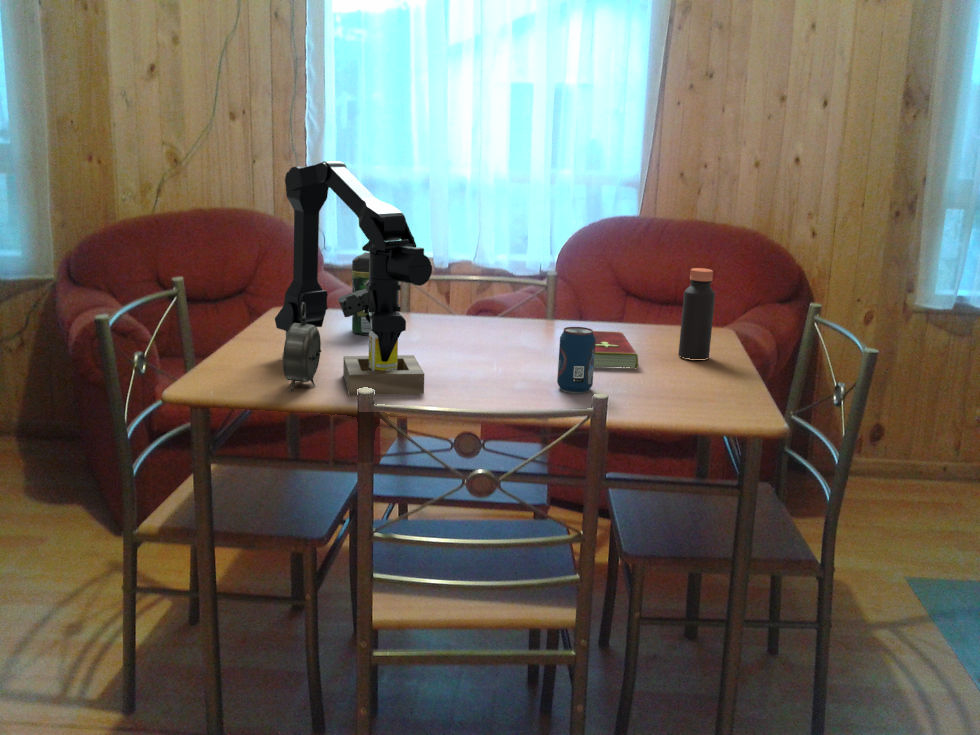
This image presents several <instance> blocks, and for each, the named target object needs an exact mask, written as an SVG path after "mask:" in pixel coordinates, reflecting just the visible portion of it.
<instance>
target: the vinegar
mask: <svg viewBox="0 0 980 735" xmlns="http://www.w3.org/2000/svg"><path fill="white" fill-rule="evenodd" d="M689 271H690V272H689V279H690V280H689V282H690V285H689V286H688V287H687V288H686V289H685V290H684V292H683V300H682V301H683V302H682V310H681V312H682V314H681V324H680V332H679V333H680V334H679V344H678V357H679V356H681V357H684V358H690V359H706V358H708V359H709V357H710V350H711V341H712V340H711V339H712V331H713V321H714V320H713V319H714V309H715V301H716V300H715V299H716V293H715V290H713V288H712V286H711V284H712V283H713V279H714V278H713V276H714V270H712V269H709V268H704V267H703V268H701V267H692V268H691V269H690V270H689Z"/></svg>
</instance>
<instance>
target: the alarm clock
mask: <svg viewBox="0 0 980 735" xmlns="http://www.w3.org/2000/svg"><path fill="white" fill-rule="evenodd" d="M303 304H304V308H305V313H304V316H303V315H302V310H303ZM305 316H306V305H305V302H302V305H301V324H300V323H294V324H292V325H291V327H290V329H289V331H288V333H287V336H286V335H285V341H284V346H283V354H282V369H283V374H284V377H285V379H286V381H291V387H290V388H289V390H290V392H293V391H294V387H295V385H296V383H297V382H302V383H308V382H311V384H312V385H313V386H314V387H315V386H316V383H315V381H314V377H315V376H316V373H317V370H318V368H319V367H318V366H319V365H320V364H319V363H320V359H321V353H322V349H321V348H322V347H321V344H322V343H321V334H320V331H319V329H318V327H315V326H314V325H308V324H306V322H305V320H306V317H305Z"/></svg>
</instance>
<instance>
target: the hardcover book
mask: <svg viewBox="0 0 980 735" xmlns="http://www.w3.org/2000/svg"><path fill="white" fill-rule="evenodd" d="M593 334H594V337H595V339H596V343H595V358H594V367H622V368H623V367H625V368H626V367H630V368H637V369H638V367H639V366H638V365H639V356H638V354H637V352H636V350H635V349H634V348H633V347H632V345H631V343H630V342H629V340H628V339H627V337H626V336H625V334H624V333H623V332H622V331H611V330H610V331H609V330H593Z"/></svg>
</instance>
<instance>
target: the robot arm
mask: <svg viewBox="0 0 980 735" xmlns="http://www.w3.org/2000/svg"><path fill="white" fill-rule="evenodd" d="M284 184H285V193H286V194H285V195H286V198H287V199H288V202H289V203H290V206H291V207H292V209H293V211H294V214H293V217H294V218H293V220H294V221H293V270H292V271H293V273H292V274H293V276H292V277H293V278H292V281H291V284H289V287H288V288H287V290H286V291H285V293H284V300H283V301H284V303H283V306H282V307H281V309H280V310H279V311H278V313H277V314H276V316H275V317H274V322H275V327H276V329H279V330H281V331H283V332H284V331H285V337H286V336H287V333H288V331H289V329H290V327H291V325H292V324H294V323H300V324H301V305H302V302H305V305H306V316H305V317H306V320H305V322H306V324H308V325H314V326H315V327H316V328H322V327H323V324H324V320H325V316H326V312H327V310H328V302H327V301H328V296H329V294H328V292H327V290H325V289H324V290H323V288H322V286H321V285H320V283H319V280H318V279H319V236H320V234H319V233H320V211H321V210H322V208H323V206H324V204H325V203H326V202H327V200H328V195H329V189H330V190H332V191H333V193H334V194H335V195H336V196H337V197H338V198H339V199H340V200H341V201H343V203H344V204H345V205H346V206H347V207H348V208H349V209H350V210H351V211H352V212H353V213H354V214H355V215H356V217H357V219H358V227H359V229H360V230H361V232H362V233H363V234H364V236H365V237H366V239H367V240H368V241H367V243H365V244H364V245H362V247H361V250H362V251H364V252H367V253H369V280H368V282H366V289H362V290H359V291H356V292H353V293H352V292H351V293H347V294H345V295H342V296H340V297H338V298H337V300H338V303H339V305H340V308H341V312H342V314H343V316H344V318H349V317H352V315H353V314H355V313H358V312H361V311H363V312H364V313H367V311H368V312H369V315H365V318H366V320H367V321H368V322H369V323H370V329H371V331H372V332H374V333H375V334H376V335H377V336H378V342H379V348H380V354H381V360H382V361H383V362H387V361H388V359H389V357H390V355H391V353H392V350H393V348H394V346H395V344H396V342H397V340H398V341H399V338H400V336H401V334H402V333H403V332H405V331H407V321H406V320H407V319H405V316H403V315H402V314H401V313H400V312H401V305H400V291H401V290H402V285H401V283H400V282H402V283H406V284H409V285H410V284H411V285H414V286H419V287H420V286H423V285H425V284H426V283H428V281H429V280H430V278H431V276H432V274H433V273H432V272H433V265H432V263H431V260H430V258H429V257H428V256H427V255H425V249H424V247H421V246H420V247H417V242H416V241H415V237H414V236H413V234H412V232H411V229H410V227H409V224H408V222H407V219H406V217H405V215H404V213H403V212H402V211H401V210H399V208H396V207H395V206H393V205H392V204H389V203H386V202H384V201H381V200H379V199H378V198H376V196H374V195H373V194H372V192H370V190H368V189H367V187H365V185H363V184H362V183H361V181H360V180H359V179H358V178H356V176H355V175H354V174H352V173H351V172H350V170H349V169H348V167H347V165H346V163H344V162H342V161H340V160H330V161H328V160H327V161H326V160H324V161H322V162H319V163H317V164H312V165H308V166H292V167H291V168H289V170H288V171H286V173H285V178H284ZM304 313H305V308H304V304H303V310H302V315H303V316H304Z"/></svg>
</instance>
